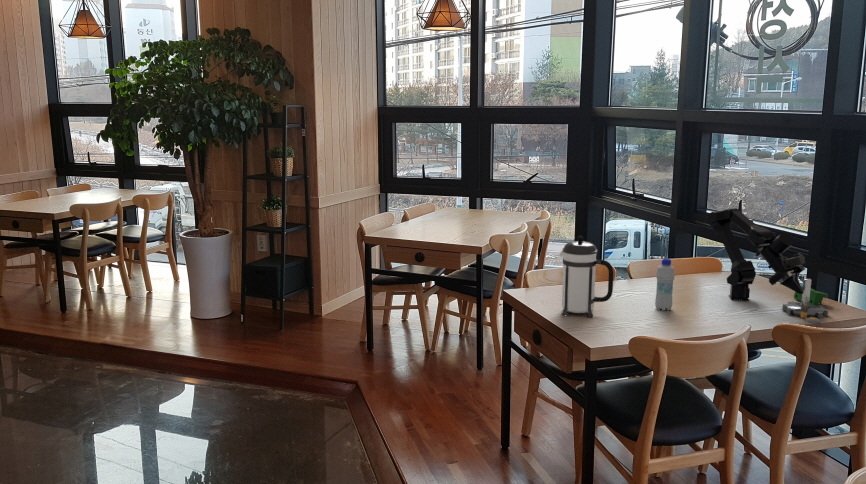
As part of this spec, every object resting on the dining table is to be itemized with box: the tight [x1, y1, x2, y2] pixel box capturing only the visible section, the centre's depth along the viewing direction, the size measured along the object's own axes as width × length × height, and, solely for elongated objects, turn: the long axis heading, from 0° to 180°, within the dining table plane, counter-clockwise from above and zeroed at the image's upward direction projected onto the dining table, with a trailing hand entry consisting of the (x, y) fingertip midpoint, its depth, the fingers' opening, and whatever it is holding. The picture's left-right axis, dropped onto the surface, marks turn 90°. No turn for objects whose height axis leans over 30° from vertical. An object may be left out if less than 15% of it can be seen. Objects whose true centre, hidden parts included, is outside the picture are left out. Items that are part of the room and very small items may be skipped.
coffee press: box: [558, 235, 614, 318], centre depth 269 cm, size 17×16×30 cm
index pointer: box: [804, 317, 821, 324], centre depth 259 cm, size 4×3×1 cm
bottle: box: [654, 258, 676, 312], centre depth 273 cm, size 7×7×20 cm
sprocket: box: [781, 278, 829, 319], centre depth 268 cm, size 15×15×14 cm
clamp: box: [793, 285, 829, 305], centre depth 283 cm, size 12×6×9 cm, turn 6°
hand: (801, 293), depth 264 cm, fingers closed, pressing on sprocket
